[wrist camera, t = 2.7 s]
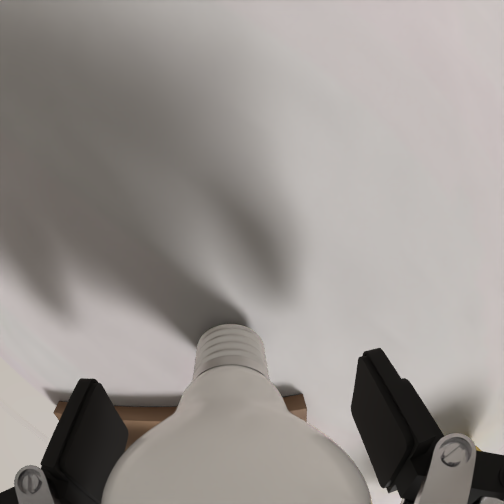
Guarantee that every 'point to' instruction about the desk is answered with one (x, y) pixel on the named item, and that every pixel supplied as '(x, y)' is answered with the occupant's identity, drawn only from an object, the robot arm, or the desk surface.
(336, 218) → the desk surface
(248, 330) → the lightbulb
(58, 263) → the desk surface
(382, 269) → the desk surface
